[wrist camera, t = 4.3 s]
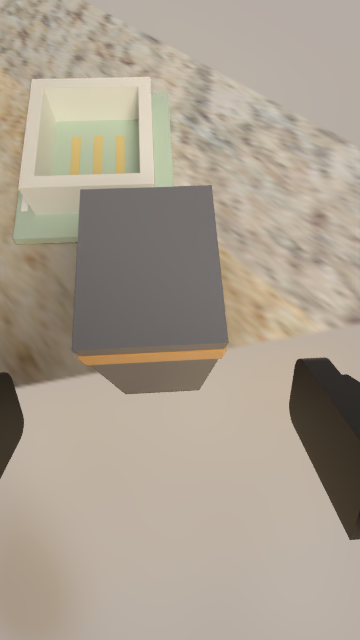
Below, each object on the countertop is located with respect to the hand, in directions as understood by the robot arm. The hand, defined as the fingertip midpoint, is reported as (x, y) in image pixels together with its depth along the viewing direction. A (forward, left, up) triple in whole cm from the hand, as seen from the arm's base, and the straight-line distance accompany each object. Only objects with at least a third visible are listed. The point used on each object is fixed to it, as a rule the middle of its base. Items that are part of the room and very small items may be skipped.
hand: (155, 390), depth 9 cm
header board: (+6, +16, -9) cm, 19 cm away
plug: (+2, +3, -9) cm, 9 cm away
